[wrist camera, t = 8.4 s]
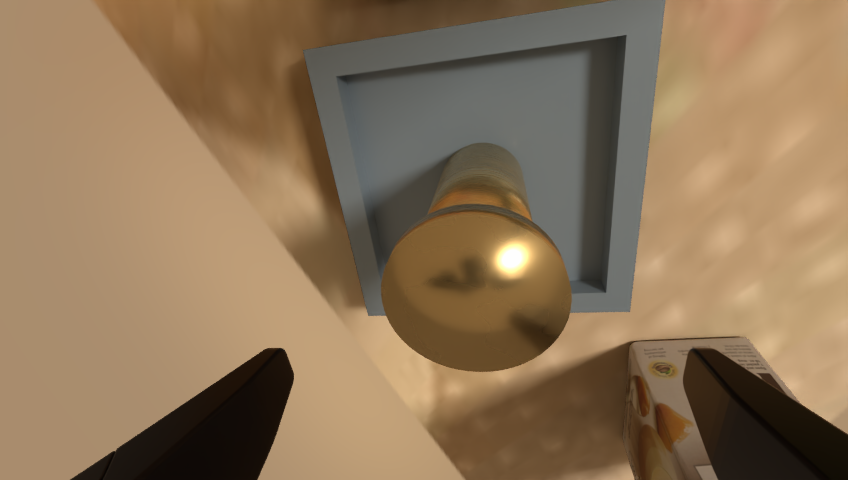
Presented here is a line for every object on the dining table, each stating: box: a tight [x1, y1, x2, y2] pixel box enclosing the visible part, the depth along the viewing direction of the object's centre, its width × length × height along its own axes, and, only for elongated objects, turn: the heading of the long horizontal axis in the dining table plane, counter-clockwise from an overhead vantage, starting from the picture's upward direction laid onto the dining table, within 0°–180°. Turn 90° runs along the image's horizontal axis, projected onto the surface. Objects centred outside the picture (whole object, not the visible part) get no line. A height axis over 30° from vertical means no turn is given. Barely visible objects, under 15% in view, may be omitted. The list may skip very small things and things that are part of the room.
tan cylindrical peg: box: [381, 143, 572, 372], centre depth 15 cm, size 5×5×10 cm
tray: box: [303, 0, 665, 316], centre depth 19 cm, size 14×14×2 cm
